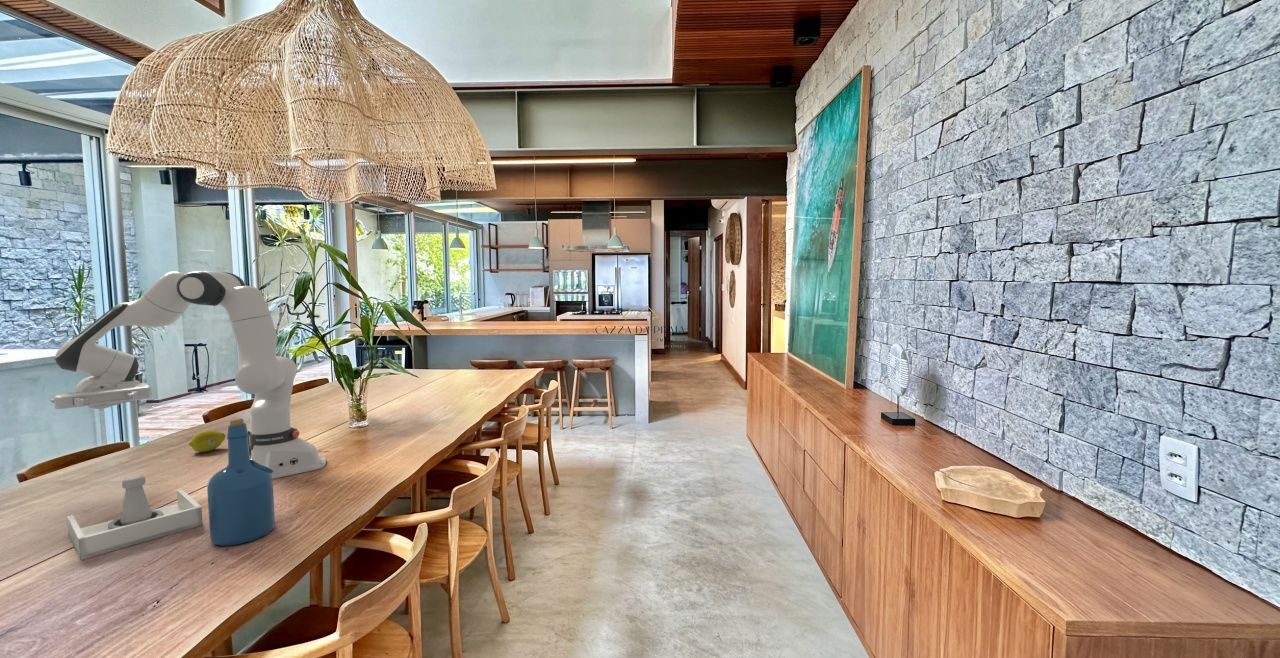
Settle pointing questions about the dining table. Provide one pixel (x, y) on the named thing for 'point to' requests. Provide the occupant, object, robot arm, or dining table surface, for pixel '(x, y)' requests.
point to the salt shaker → (134, 501)
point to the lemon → (207, 441)
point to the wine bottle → (240, 494)
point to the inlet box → (135, 528)
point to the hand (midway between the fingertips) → (109, 399)
